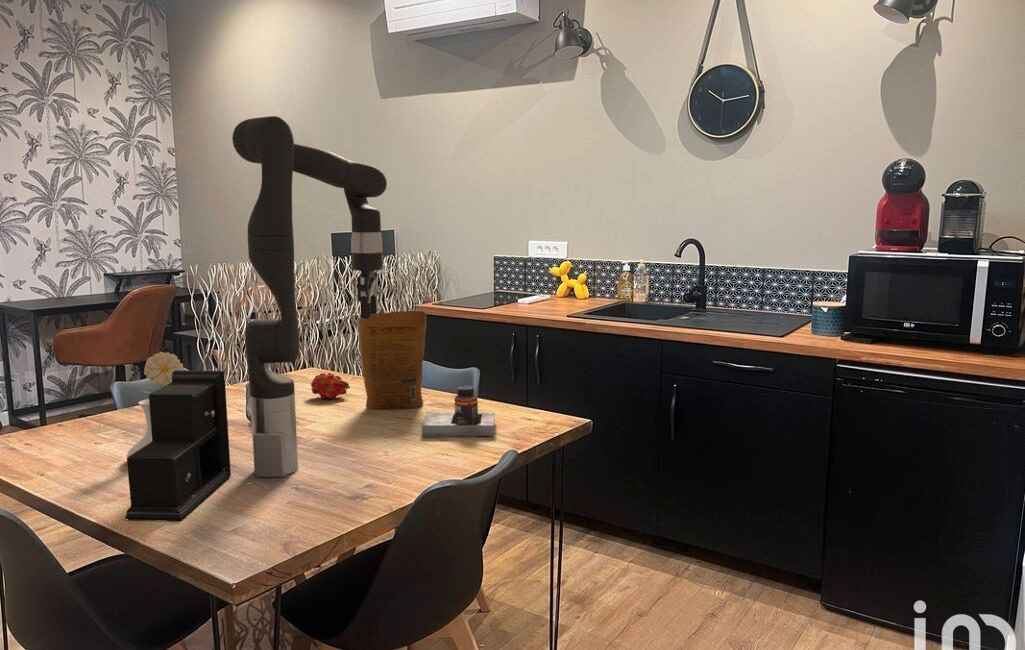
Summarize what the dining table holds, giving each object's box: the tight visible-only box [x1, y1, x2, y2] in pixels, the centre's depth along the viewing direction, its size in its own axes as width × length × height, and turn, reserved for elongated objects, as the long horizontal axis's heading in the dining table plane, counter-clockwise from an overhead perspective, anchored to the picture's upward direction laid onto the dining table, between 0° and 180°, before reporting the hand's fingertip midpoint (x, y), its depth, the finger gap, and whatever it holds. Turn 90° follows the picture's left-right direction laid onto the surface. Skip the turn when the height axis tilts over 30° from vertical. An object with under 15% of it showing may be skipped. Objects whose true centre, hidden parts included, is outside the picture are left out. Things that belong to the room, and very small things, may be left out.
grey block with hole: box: [420, 411, 496, 438], centre depth 197 cm, size 12×18×3 cm, turn 90°
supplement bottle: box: [454, 385, 479, 424], centre depth 196 cm, size 6×6×11 cm
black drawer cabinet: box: [125, 369, 232, 522], centre depth 150 cm, size 23×11×24 cm, turn 178°
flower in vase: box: [126, 351, 184, 459], centre depth 172 cm, size 13×11×25 cm
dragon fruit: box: [310, 372, 351, 401], centre depth 229 cm, size 8×8×12 cm
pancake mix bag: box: [357, 310, 427, 410], centre depth 216 cm, size 7×19×28 cm, turn 96°
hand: (369, 315), depth 190 cm, fingers open, 8 cm apart
